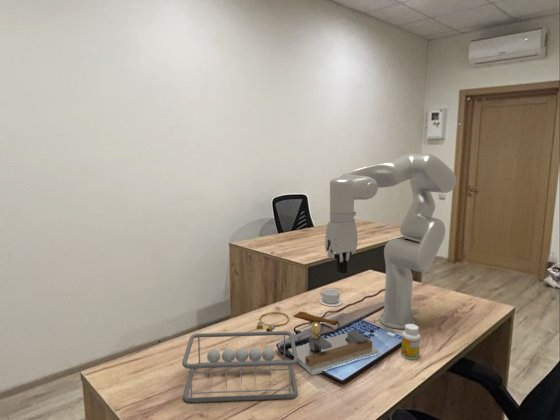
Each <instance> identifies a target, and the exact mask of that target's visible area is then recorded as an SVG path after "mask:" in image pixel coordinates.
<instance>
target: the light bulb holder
mask: <svg viewBox="0 0 560 420" xmlns="http://www.w3.org/2000/svg"><path fill="white" fill-rule="evenodd" d="M321 329H322V328H321V324H320V323H319V322H311V329H310V330H311V334H310V335H311V337H308V343H309V347H310V348H311V349H312V350H314V351H316V350H320V349H323V350H325V349H328V348H332V344H331V343H329V342H328V341H327V340H325V339H326V338H324V337H323V336H321Z"/></svg>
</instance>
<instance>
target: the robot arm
mask: <svg viewBox="0 0 560 420" xmlns="http://www.w3.org/2000/svg"><path fill="white" fill-rule="evenodd" d="M408 180H409V184H410V187H411V193H412V201H411V204H410V206H409V208H408V210H407V212H406V215H405V216H404V218H403V221H402V223H401V225H400V227H399V233H400V234H401V236H402V237H404V238H406V239H408V240H406V239H402V238H393V239H390V240H389V241H387V243H386V244H385V246H384V248H383V256H384V263H385V286H384V301H383V302H384V304H383V307H384V308H383V313H381V314H380V315H379V319H378V321H379V322H380V323H381V324H382V325H383V326H386V327H388V328H391V329H398V330H405V325H406V324H414V325H415V320H414V318H413V316H414V315H418V314H419V313H420V310H419V309H418V308H414V309H412V297H413V296H412V292H413V280H414V279H413V274H412V271H414V272H415V271H416V272H419V273H420V272H421V273H424V272H425V271H427V270H429V269H430V267H431V266H432V265H433V263H434V260H435V258H436V257H437V255H438V252H439V250H440V248H441V245H442V243H443V241H444V239H445V236H446V226H445V224H444V222H443V221H442V220H441V219H440V218H438V217H433V215H434V212H435V209H436V203H435V200H434V197H433V195H432V193H439V194H440V193H441V194H447V193H449V192H452V191H453V190H454V188H455V187H456V184H457V176H456V174H455V172H454V171H453V170H452V169H451V168H450V167H449V166H448V165H447V164H446V163H445V162H443V160H441V159H440V158H438V157H437V156H436V155H434V154H430V153H406V154H403V155H401V156H398V157H396V158H394V159H391V160H388V161H385V162H383V163H379V164H374V165H370V166H365V167H360V168H357V169H354V170H351V171H349V172H346V173H343V174H342V175H340V176H339V177H335V178H332V179H331V180H330V182H329V221H328V222H327V224H326V230H325V241H324V242H325V243H324V249H325V251H326V252H327V255H326V256H327V257H329V258H330V259H332V258H333V259H334V260H335V261H336V271H337V272H338V273H340V274H342V275H345V274H347V273H348V262H349V260H350V258H351V256H352V255H353V254H355V253H356V252H357V248H358V229H357V223H356V220H355V216H356V215H357V213H356V211H355V200H356V201H357V200H361V201H365V200H370V199H373V198H374V197H375V196H376V195H377V193H378V191H379V190H378V189H379V188H380V189H381V188H390V187H395V186H397V185H399V184H401V183H403V182H405V181H408ZM413 241H415V242H413ZM418 242H419V243H418ZM411 270H412V271H411Z"/></svg>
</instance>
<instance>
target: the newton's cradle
mask: <svg viewBox="0 0 560 420" xmlns="http://www.w3.org/2000/svg"><path fill="white" fill-rule="evenodd" d="M258 336H260V337H261V336H262V337H264V336H283V359H279V360H277V359H276V360H275V359H274V358H275V356H276V353H275V351H274V349H273V348H271V347H265V348H264V349H263V350H260V348H257V347H253V348H251V349H250V350H249V352H248V351H247V349H246V348H238V349H237V351H234V350H233V349H230V348H226V349H225V350H223V352H222V355H221V352H220V351H219V350H218V349H213V348H212V349H210V350H209V351H208V353H207V355H206V358H207V361H208V362H201V352H200V351H201V349H200V348H201V346H200V345H201V344H200V341H201V340H200V338H222V337H223V338H227V337H229V338H230V337H231V338H232V337H258ZM286 336H288V337H289V341H290V345H291V348H292V351H293V356H294V358H293V359H292V360H287V359H286ZM196 338H197V342H198V343H197V346H198V347H197V348H198V362H196V363H188V360H189V356H190V353H191V349H192V346H193V342H194V339H196ZM296 347H297V346H296V343H295V337H294V334H293V333H292V332H290V331H288V330H287V331H286V330H282V331H281V330H277V331H275V330H272V331H268V332H267V331H241V332H239V331H238V332H236V331H235V332H207V333H206V332H203V333H201V332H200V333H193V334H192V335H191V336H190V337H189V340H188V343H187V345H186V349H185V353H184V355H183V358H182V362H181V365H182V367H183V368H185V369H189V373H188V376H187V380H186V385H185V388H184V391H183V396H182V397H183V400H184V401H185V402H187V403H206V402H207V403H208V402H211V403H212V402H235V401H237V402H239V401H256V400H257V401H258V400H259V401H261V400H283V399H285V400H286V399H293V398H296V397H297V396H298V393H299V391H298V390H299V389H298V386H297V380H296V375H295V370H294V365H296V364H297V363H298V355H297V350H296ZM220 358H222V360H223V361H221V362H220V361H219V360H220ZM234 359H236V360H237V361H234ZM248 359H250V360H248ZM261 359H263V360H261ZM275 366H277V367H278V366H288V368H272V369H271V367H275ZM245 367H247V368H248V367H249V368H251V367H253V368H254V369H245V370H244V369H243V368H245ZM257 367H268V369H267V368H266V369H257ZM215 368H216V369H218V368H220V369H221V368H225V370H218V371H217V370H216V371H215V370H214V369H215ZM229 368H240V370H229ZM195 369H210V371H195ZM242 369H243V370H242ZM279 371H282V372H283V371H289V372H288V375H289V376H288V388H274V389H273V388H272V382H269V387H270V389H247V390H246V389H245V390H243V389H240V390H227V387H228V386H227V385H228V379H225V390H221V391H220V390H218V391H193V382H192V381H193V376H194V375H195V374H196V375H198V374H210V377H214V376H213V374H216V373H217V374H222V373H225V374H226V375H228V374H229V373H240V383H242V380H243V379H242V378H243V377H242V375H243V373H250V372H251V373H255V375H254V378H255V379H254V380H255V381H254V383H255V384H254V385H255V387H257V372H268V373H269V377H271V372H279ZM291 383H292V384H291ZM212 387H213V380H210V390H212ZM291 387H292V388H291ZM291 389H292V390H293V392H292V391H291ZM273 391H274V392H275V391H277V392H278V391H289V392H288V393H276V394H275V393H273V394H271V393H270V394H248V395H226V396H225V395H223V396H199V397H197V396H196V397H193V395H200V394H201V395H203V394H225V393H226V394H227V393H228V394H229V393H253V392H255V393H256V392H273ZM291 392H292V393H291ZM189 393H190V397H189Z"/></svg>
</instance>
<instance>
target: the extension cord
mask: <svg viewBox="0 0 560 420" xmlns="http://www.w3.org/2000/svg"><path fill="white" fill-rule="evenodd" d="M270 315H282V316H284V317H286V318H287V321H286V322H285V323H280V324H268V323H265V322H263V321H262V320H261V319H262V317H266V316H270ZM258 320H259V321H258V322H257V325H256V328H257V329H258V330H263V329H264V328H263V325H265V326H268V327H267V328H266V331H265V332H270V331H274V329H275V327H277V328H278V327H280V328H281V326H285V325H287V324H288V323H289V320H290V318H289V315H288V314H287V313H285V312H280V311H270V312H267V313H264V314H262V315H261V316H260V317H259V319H258Z"/></svg>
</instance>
